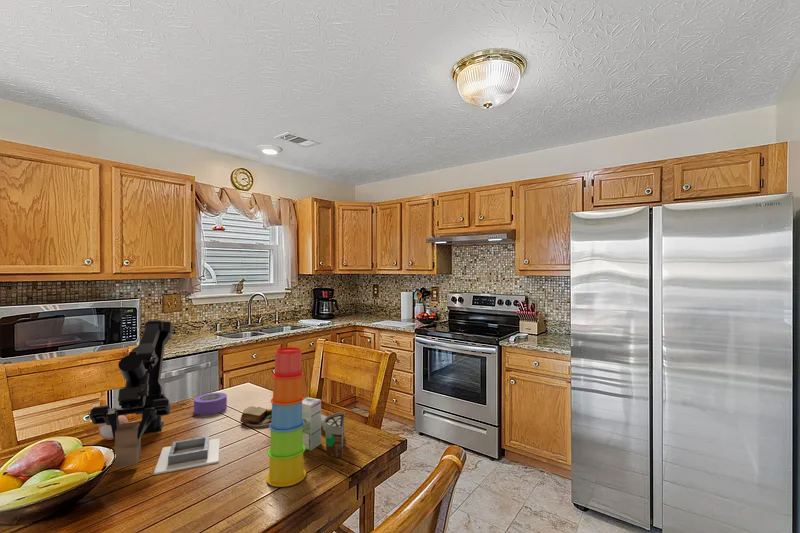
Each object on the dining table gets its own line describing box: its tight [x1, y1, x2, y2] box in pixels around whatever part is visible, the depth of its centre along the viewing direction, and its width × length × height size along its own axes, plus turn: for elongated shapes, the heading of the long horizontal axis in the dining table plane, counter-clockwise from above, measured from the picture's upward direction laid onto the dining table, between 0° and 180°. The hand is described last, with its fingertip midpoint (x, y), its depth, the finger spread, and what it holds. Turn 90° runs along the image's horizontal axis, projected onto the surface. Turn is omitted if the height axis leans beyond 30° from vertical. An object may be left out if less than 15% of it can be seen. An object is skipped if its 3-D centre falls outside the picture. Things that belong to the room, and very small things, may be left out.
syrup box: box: [302, 396, 322, 452], centre depth 121 cm, size 6×6×14 cm
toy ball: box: [98, 415, 129, 441], centre depth 126 cm, size 8×8×8 cm
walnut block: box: [114, 421, 142, 469], centre depth 107 cm, size 5×5×10 cm
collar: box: [168, 435, 210, 465], centre depth 115 cm, size 10×10×2 cm
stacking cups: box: [266, 346, 307, 488], centre depth 103 cm, size 10×10×35 cm
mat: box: [153, 438, 221, 476], centre depth 115 cm, size 16×16×1 cm
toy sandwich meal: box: [239, 405, 272, 429], centre depth 140 cm, size 12×14×5 cm
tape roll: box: [193, 392, 228, 416], centre depth 152 cm, size 12×12×5 cm
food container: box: [322, 411, 345, 460], centre depth 117 cm, size 12×6×10 cm, turn 5°
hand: (127, 440), depth 105 cm, fingers closed on walnut block, 5 cm apart
